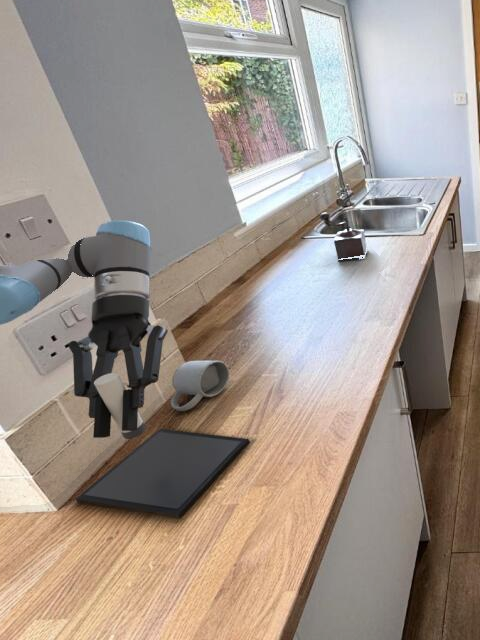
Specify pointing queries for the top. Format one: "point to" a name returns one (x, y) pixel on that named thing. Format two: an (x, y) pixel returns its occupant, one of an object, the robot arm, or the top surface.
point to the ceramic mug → (199, 381)
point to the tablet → (165, 473)
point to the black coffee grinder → (347, 240)
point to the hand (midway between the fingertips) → (115, 433)
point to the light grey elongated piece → (116, 401)
